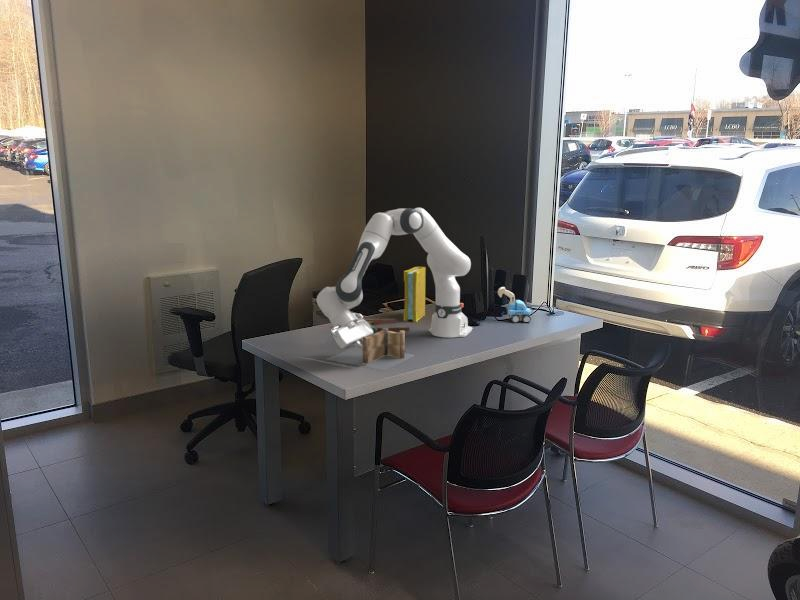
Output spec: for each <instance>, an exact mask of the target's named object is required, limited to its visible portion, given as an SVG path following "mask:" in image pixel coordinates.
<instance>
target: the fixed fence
mask: <svg viewBox="0 0 800 600" xmlns="http://www.w3.org/2000/svg"><path fill="white" fill-rule="evenodd" d="M382 330H383V331H385V355H389V356H395V357H400V358H405V353H406V352H405V351H406V350H405V349H406V348H405V345H406V343H405V340H406V337H405V336H406V335H405V334H406V332H405V331H400V332H391V331H388V328H382Z"/></svg>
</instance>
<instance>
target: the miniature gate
mask: <svg viewBox="0 0 800 600" xmlns="http://www.w3.org/2000/svg"><path fill="white" fill-rule="evenodd" d="M363 319H364V320H365V321H366V322H367V323H368V324H369V325H370V327H371V328H372V330H373V334H375V333H377V332H380V331H382V328H388V331H391V332H398V333H400V331H406V332H409V331H410V327H408V326H402V327H401V326H398V327H397V326H395V327H392V326H390V327H388V326H387V327H383V326H382V327H377V326H373V325H382V324H383V325H385V323H386V324H393V323H397V319H396V318H363Z"/></svg>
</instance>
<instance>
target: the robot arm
mask: <svg viewBox="0 0 800 600" xmlns="http://www.w3.org/2000/svg"><path fill="white" fill-rule="evenodd" d="M403 235H413V236H414V237H415V239H416V240H417V241H418V243H419V244H420V246H421V248H422V249H423V250H424V251H425V252H426V253H427V256H426V263H427V265H428V268H430V271H431V273H432V274H431V275H432V277H433V281H434V286H435V287H434V288H435V303H434V307H433V308H434V313H432V315H431V324H430V328H428V332H429V333H430V334H431V335H433V336H434V337H440V338H459V337H460V338H465V337H467V336H468V335H469V334H470V333H471V332H472V331H473V330H472V329H473V327H472V326H470V325H468V324H469V320H468V317H467V316H466V315H465V314H464V313H463V312H462V311H463V310H462V308H464V303H463V302H461V301H460V300H461V287H460V285H459V283H458V281H457V280H456V277H464V276H466V275H467V274H468V273H469V272H470V270H471V268H472V267H471V266H472V262H471V258H469V256H468V255H466V254H465V253H464V252H462V251H461V250H460V249H459V248H458V246H456V245H455V244H454V243H453V242H452V241H451V240H450V239H449V238H448V237H447V236H446V235H445V233H444V232H443V230H442V229H441V227H440V226H439V224H438V223H437V222H436V220H435V219H434V217H432V216H431V214H430V213H428V211H426V210H425V209H424V208H422V207H415V208H410V207H408V208H397V209H392V210H386V211H384V212H377V213H374V214H373V215H372V216H371V218H370V220H369V221H368V222H367V224H366V226H365V228H364V229H363V232H362V234H361V237H360V238H359V243H358V247H357V250H356V254H354V257H353V258H352V261H351V263H350V265H349V267H348V269H347V271H346V272H345V273H344V274H343V275H342V276H341V277H340V278H339V279H338V280H337V282H336V284H335V286H326V287H324V288H322V289H321V290H320V291H319V292H318V294H317V296H316V303H317V305H318V307H319V309H320V310H321V312H322V313H323V314H324V316H325V317H326V318H328V320H329V321H330V324H331V325H332V327H331V330H330V333H331V335H332V336H333V339H334V341H335V342H336V344H337V345H338V347H339V348H340V349H341V350H342V349H346V348H348V347H350V346H354V347H357V348H358V349H360V350H361V352H363V337H368V336H371V335H373V334H374V333H373V330H372V328H371V327H370V325H369V324H368V323H367V322H366V321H365V320H364V319H365V318H364V316H363V315H362V314H361V313H355V312H351V311H350V310H351V309H354V308H355V307H357V306H359V305H360V304H361V302H362V301H363V297H364V294H363V289H362V288H363V287H362V281H363V277H364V275H365V273H366V270H367V269H368V266H369V265H370V263H371V262H372V261H373V260H376V259H378V258H380V257H381V256H382V255H383V253H384V252H385V250H386V248H387V246H388V244H389V241H390V238H391V236H403Z"/></svg>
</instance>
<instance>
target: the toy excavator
mask: <svg viewBox="0 0 800 600" xmlns="http://www.w3.org/2000/svg"><path fill="white" fill-rule="evenodd" d="M497 295H498V296H499V298H502V297H503V295H505V296H506V297H508V298H509V303H508V307H507V312H508V316H509V319H510V318H511V319H510V320H511V322H512V323H514V322H517V323H519V322H523V323H525V322H529V323H530V322H531V316H530V314H531V313H532V309H531V308H529V307H527V305H526V304H525V302H524V301H522V300H520V299H516V298H515V297H516V296H515V294H514V293H513V292H511V291H510V290H507V289H506V287H505V286H501V287H499V288H498V289H497Z"/></svg>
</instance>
